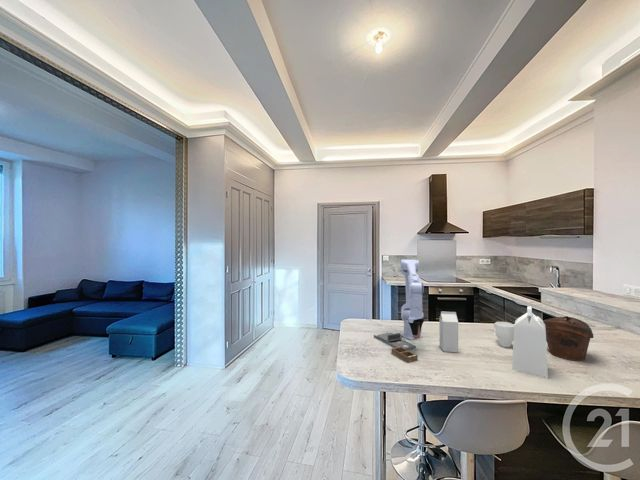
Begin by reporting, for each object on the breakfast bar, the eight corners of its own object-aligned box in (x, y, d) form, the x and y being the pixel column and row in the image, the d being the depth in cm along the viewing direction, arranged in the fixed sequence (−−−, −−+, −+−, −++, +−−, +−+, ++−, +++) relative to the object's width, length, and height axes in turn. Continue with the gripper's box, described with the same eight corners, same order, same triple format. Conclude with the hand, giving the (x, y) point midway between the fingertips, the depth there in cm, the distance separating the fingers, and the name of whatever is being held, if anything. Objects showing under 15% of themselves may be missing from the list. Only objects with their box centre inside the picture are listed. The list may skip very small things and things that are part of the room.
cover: (390, 333, 154) (390, 328, 154) (401, 338, 146) (401, 333, 146) (376, 336, 150) (376, 330, 150) (387, 341, 141) (387, 336, 141)
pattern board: (387, 334, 157) (387, 332, 157) (415, 348, 136) (415, 345, 136) (373, 337, 152) (373, 335, 152) (401, 351, 132) (401, 349, 132)
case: (575, 348, 136) (574, 312, 136) (605, 366, 116) (604, 325, 116) (534, 345, 140) (533, 311, 140) (556, 362, 121) (555, 322, 121)
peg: (417, 336, 134) (417, 324, 134) (421, 338, 131) (421, 326, 131) (411, 336, 133) (411, 324, 134) (415, 338, 130) (415, 326, 130)
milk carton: (458, 352, 131) (458, 314, 131) (442, 351, 132) (442, 313, 132) (454, 347, 138) (454, 310, 138) (439, 346, 139) (439, 309, 139)
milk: (514, 359, 123) (513, 303, 123) (547, 367, 116) (546, 307, 116) (512, 369, 114) (511, 308, 114) (547, 378, 107) (547, 313, 107)
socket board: (400, 351, 133) (400, 346, 133) (417, 360, 123) (417, 355, 123) (391, 353, 130) (391, 348, 130) (407, 363, 120) (407, 357, 120)
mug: (519, 348, 135) (518, 326, 135) (503, 349, 135) (503, 326, 135) (501, 340, 147) (501, 319, 147) (487, 340, 147) (487, 319, 147)
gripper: (413, 302, 141) (414, 328, 140) (402, 308, 130) (402, 336, 130) (427, 304, 136) (427, 331, 136) (416, 310, 125) (416, 339, 125)
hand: (416, 334), depth 132 cm, fingers closed on peg, 3 cm apart
